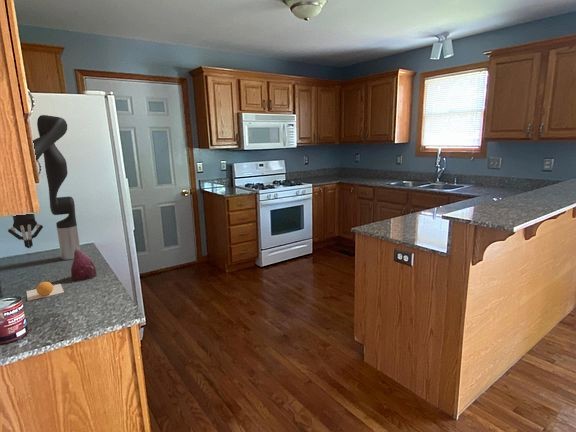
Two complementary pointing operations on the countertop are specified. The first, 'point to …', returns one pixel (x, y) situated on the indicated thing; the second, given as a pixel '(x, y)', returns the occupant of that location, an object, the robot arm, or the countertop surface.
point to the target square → (56, 290)
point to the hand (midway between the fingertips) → (29, 247)
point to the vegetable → (82, 267)
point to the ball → (44, 288)
